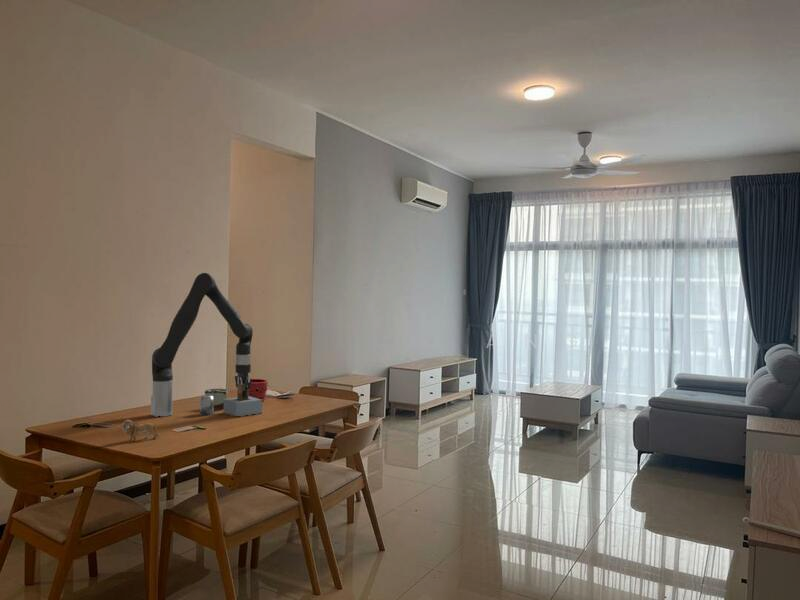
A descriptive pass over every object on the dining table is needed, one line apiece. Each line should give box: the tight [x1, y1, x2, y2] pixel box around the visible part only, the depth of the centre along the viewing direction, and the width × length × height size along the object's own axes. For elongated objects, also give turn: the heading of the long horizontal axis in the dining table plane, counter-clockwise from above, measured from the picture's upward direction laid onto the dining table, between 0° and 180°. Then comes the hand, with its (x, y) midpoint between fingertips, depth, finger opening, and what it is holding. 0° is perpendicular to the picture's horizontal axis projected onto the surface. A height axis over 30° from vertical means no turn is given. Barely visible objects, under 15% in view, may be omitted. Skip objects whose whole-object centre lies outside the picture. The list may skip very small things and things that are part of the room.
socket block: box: [223, 396, 263, 418], centre depth 304 cm, size 14×14×7 cm
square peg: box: [236, 383, 250, 401], centre depth 304 cm, size 4×4×9 cm
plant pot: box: [248, 378, 268, 402], centre depth 338 cm, size 13×13×12 cm
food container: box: [203, 388, 229, 410], centre depth 317 cm, size 12×6×10 cm, turn 84°
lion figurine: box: [121, 419, 160, 442], centre depth 247 cm, size 15×5×9 cm, turn 131°
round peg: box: [199, 394, 215, 416], centre depth 301 cm, size 7×7×9 cm
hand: (242, 396), depth 304 cm, fingers closed on square peg, 4 cm apart
